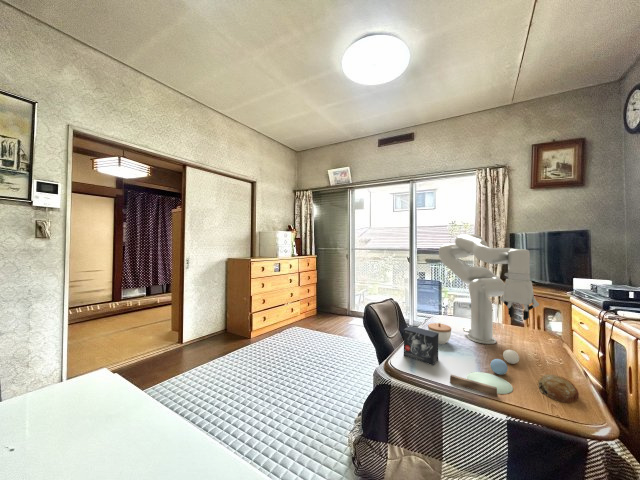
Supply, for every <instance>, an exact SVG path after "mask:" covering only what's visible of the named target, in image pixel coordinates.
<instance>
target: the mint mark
mask: <svg viewBox="0 0 640 480" xmlns="http://www.w3.org/2000/svg"><path fill="white" fill-rule="evenodd" d="M466 379H469V380H472V381H476V382H479V383H483V384H486V385H490V386H493V387H497V395H506V394H508V395H509V394H511V393H513V389H514V388H513V385H512V384H511V383H510V382H508V381H507V380H506V379H504V378H502V377H500V376H497V375H495V374H492V373H488V372H483V371H482V372H481V371H473V372H469V373H468V374H467V375H466Z"/></svg>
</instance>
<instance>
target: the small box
mask: <svg viewBox="0 0 640 480" xmlns="http://www.w3.org/2000/svg"><path fill="white" fill-rule="evenodd" d="M438 335H439V333H437V332H433V331H429V330H428V329H425V328H421V327H417V326H413V325H409V326H407V327H406V328H404V329H403V356H404V357H408V358H410V359H413V360H416V361H419V362H421V363H425V364H428V365H431V366H434V365H435V364H436V363H437V362H438V361H439V344H438Z"/></svg>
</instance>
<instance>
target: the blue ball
mask: <svg viewBox="0 0 640 480" xmlns="http://www.w3.org/2000/svg"><path fill="white" fill-rule="evenodd" d="M490 369H491V370H492V372H493V373H495V374H496V375H505V374H507V372H508V365H507V362H506V361H505V360H502V359H501V358H494V359H492V360H491V361H490Z"/></svg>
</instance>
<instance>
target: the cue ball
mask: <svg viewBox="0 0 640 480" xmlns="http://www.w3.org/2000/svg"><path fill="white" fill-rule="evenodd" d="M502 357H503V359H504V361H505V362H506V363H508V364H512V365H514V364H515V365H516V364H518V363H519V361H520V356H519V354H518V353H517V352H516V351H515V350H513V349H506V350H504V351H503V354H502Z"/></svg>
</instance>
